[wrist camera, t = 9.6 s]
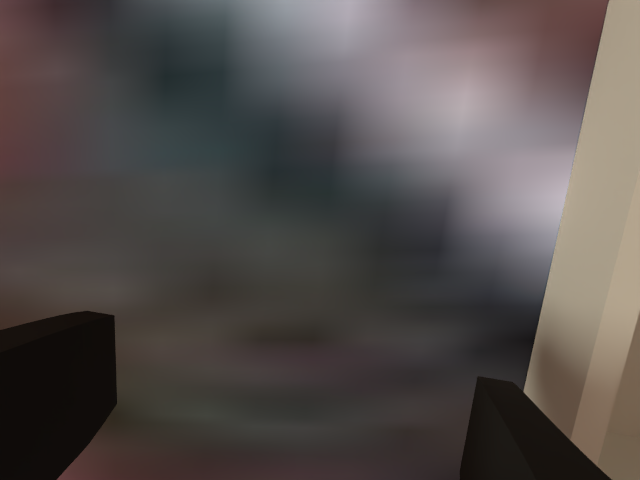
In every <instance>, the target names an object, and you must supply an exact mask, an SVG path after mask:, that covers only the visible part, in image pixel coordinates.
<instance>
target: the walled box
mask: <svg viewBox="0 0 640 480" xmlns="http://www.w3.org/2000/svg"><path fill="white" fill-rule="evenodd" d="M524 393H525V394H526V395H527V396H528V397H529V398H530V399H531V400H532V401H533V402H534V404H535V405H536V406H537V407H538V408H539V409H540V410H541V411H542V412H543V413H544V414H545V415H546V416H547V417H548V418H549V419H550V420H551V421H552V422H553V423H554V424H555V425H556V426H557V427H558V428H559V429H560V430H561V431H562V432H563V433H564V434H565V435H566V436H567V437H568V438H569V439H570V440H571V441H572V442H573V443H574V444H575V445H576V446H577V447H578V448H579V449H580V450H581V451H582V452H583V453H584V454H585V455H586V456H587V457H588V458H589V459H590V460H591V461H592V462H593V463H594V464H595V465H596V466H598V467H599V468H600V469H601V470H602V471H603V472H604V473H605V474H606V475H607V476H608V477H610V478H611V479H612V480H640V0H609V3H608V8H607V12H606V17H605V21H604V26H603V31H602V35H601V40H600V44H599V49H598V53H597V58H596V63H595V67H594V72H593V76H592V81H591V85H590V90H589V95H588V99H587V104H586V108H585V113H584V117H583V122H582V127H581V131H580V136H579V140H578V145H577V149H576V154H575V159H574V163H573V168H572V172H571V177H570V181H569V186H568V190H567V195H566V200H565V204H564V209H563V213H562V218H561V222H560V227H559V232H558V236H557V241H556V245H555V250H554V254H553V259H552V264H551V268H550V273H549V277H548V282H547V286H546V291H545V296H544V300H543V305H542V309H541V314H540V318H539V323H538V328H537V332H536V337H535V341H534V346H533V350H532V355H531V360H530V364H529V369H528V373H527V378H526V382H525V387H524Z"/></svg>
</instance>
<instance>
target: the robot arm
mask: <svg viewBox="0 0 640 480" xmlns="http://www.w3.org/2000/svg"><path fill="white" fill-rule="evenodd" d="M116 404H117V388H116V355H115V322H114V315H108V314H102V313H96V312H91V311H83V312H75V313H69V314H64V315H59V316H55V317H51V318H46V319H42V320H38V321H34V322H30V323H26V324H22V325H18V326H15V327H11V328H7V329H3V330H0V480H56V479H57V478H58V477H59V476H60V475H61V474H62V473H63V472H64V471H65V470H66V469H67V467H68V466H69V465H70V464H71V463H72V462H73V461H74V460H75V459H76V458H77V457H78V455H79V454H80V453H81V452H82V451H83V450H84V449H85V448H86V446H87V445H88V444H89V443H90V441H91V440H92V439H93V437H94V436H95V435H96V433H97V432H98V430H99V429H100V428H101V426H102V425H103V423H104V422H105V420H106V419H107V417H108V416H109V415H110V413H111V412H112V410H113V409H114V407H115V406H116ZM460 480H612V479H611V478H610V477H608V476H607V475H606V474H605V473H604V472H603V471H602V470H601V469H600V468H599V467H598V466H596V465H595V464H594V463H593V462H592V461H591V460H590V459H589V458H588V457H587V456H586V455H585V454H584V453H583V452H582V451H581V450H580V449H579V448H578V447H577V446H576V445H575V444H574V443H573V442H572V441H571V440H570V439H569V438H568V437H567V436H566V435H565V434H564V433H563V432H562V431H561V430H560V429H559V428H558V427H557V426H556V425H555V424H554V423H553V422H552V421H551V420H550V419H549V418H548V417H547V416H546V415H545V414H544V413H543V412H542V411H541V410H540V409H539V408H538V407H537V406H536V405H535V404H534V402H533V401H532V400H531V399H530V398H529V397H528V396H527V395H526V394H525V393H524V392H523V391H522V390H521V389H520V388H519V387H518V386H517V385H515V384H514V383H513V382H509V381H503V380H497V379H491V378H485V377H479V376H478V378H477V383H476V388H475V394H474V399H473V404H472V409H471V415H470V420H469V425H468V431H467V436H466V441H465V446H464V452H463V457H462V462H461V468H460Z"/></svg>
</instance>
